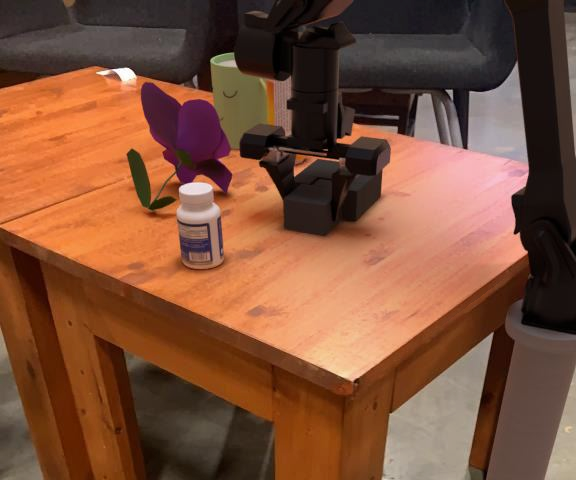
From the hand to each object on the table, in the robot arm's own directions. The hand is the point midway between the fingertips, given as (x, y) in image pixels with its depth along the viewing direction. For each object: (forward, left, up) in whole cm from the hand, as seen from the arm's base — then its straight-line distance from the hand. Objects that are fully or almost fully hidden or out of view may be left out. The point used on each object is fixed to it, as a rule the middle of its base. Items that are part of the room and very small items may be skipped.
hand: (313, 216), depth 102 cm
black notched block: (0, -8, -1) cm, 8 cm away
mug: (+24, -28, -1) cm, 37 cm away
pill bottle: (+8, +16, -1) cm, 18 cm away
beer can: (+14, -22, -1) cm, 26 cm away
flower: (+21, 0, -1) cm, 21 cm away
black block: (0, -1, -1) cm, 2 cm away
